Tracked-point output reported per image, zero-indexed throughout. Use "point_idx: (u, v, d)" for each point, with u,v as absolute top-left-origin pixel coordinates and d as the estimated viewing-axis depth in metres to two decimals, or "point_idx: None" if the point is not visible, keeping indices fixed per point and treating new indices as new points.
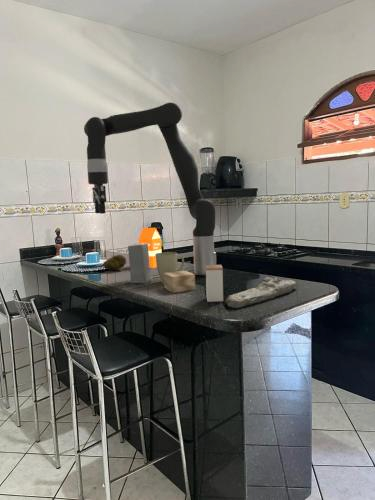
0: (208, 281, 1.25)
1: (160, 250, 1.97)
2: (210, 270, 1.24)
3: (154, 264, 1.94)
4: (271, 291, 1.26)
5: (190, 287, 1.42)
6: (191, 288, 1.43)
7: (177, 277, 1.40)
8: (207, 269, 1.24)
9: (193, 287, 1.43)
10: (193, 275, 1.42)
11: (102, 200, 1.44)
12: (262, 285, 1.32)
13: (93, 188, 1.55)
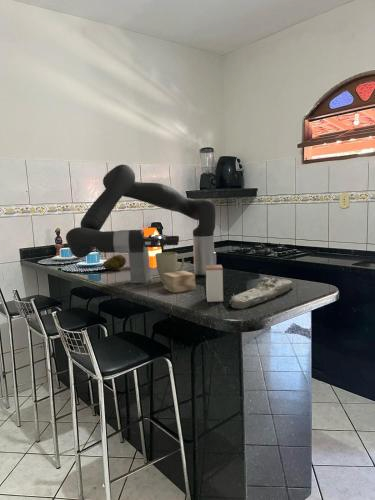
0: (208, 281, 1.25)
1: (160, 250, 1.97)
2: (210, 270, 1.24)
3: (154, 264, 1.94)
4: (272, 291, 1.26)
5: (190, 287, 1.42)
6: (191, 288, 1.43)
7: (178, 277, 1.40)
8: (207, 269, 1.24)
9: (193, 287, 1.43)
10: (193, 275, 1.43)
11: (161, 243, 1.19)
12: (261, 285, 1.32)
13: None
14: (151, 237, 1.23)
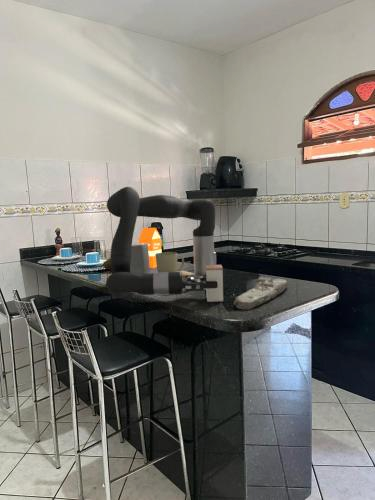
0: None
1: (160, 250, 1.97)
2: (210, 270, 1.24)
3: (154, 264, 1.94)
4: (272, 291, 1.27)
5: None
6: None
7: None
8: (207, 269, 1.24)
9: None
10: None
11: (202, 287, 1.20)
12: (260, 285, 1.32)
13: None
14: (190, 280, 1.25)
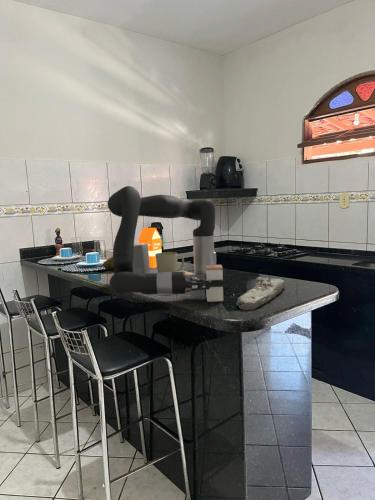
0: None
1: (160, 250, 1.97)
2: (210, 270, 1.24)
3: (154, 264, 1.94)
4: (272, 290, 1.27)
5: None
6: None
7: None
8: (207, 269, 1.24)
9: None
10: None
11: (208, 286, 1.22)
12: (259, 285, 1.32)
13: None
14: (194, 279, 1.25)
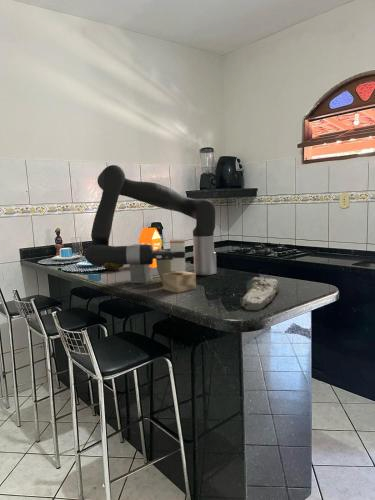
0: None
1: None
2: (173, 243, 1.41)
3: (154, 264, 1.94)
4: (272, 290, 1.28)
5: (191, 286, 1.43)
6: (192, 287, 1.44)
7: (180, 277, 1.40)
8: (171, 242, 1.40)
9: (194, 286, 1.44)
10: (194, 274, 1.44)
11: (171, 256, 1.38)
12: (257, 285, 1.32)
13: None
14: (160, 251, 1.41)
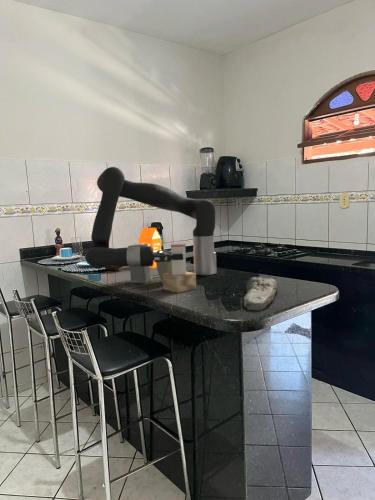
0: None
1: None
2: (174, 247, 1.41)
3: (154, 264, 1.94)
4: (272, 290, 1.28)
5: (192, 286, 1.43)
6: (193, 287, 1.44)
7: (181, 277, 1.40)
8: (172, 246, 1.41)
9: (194, 286, 1.44)
10: (194, 274, 1.44)
11: (169, 258, 1.37)
12: (257, 285, 1.32)
13: None
14: (159, 253, 1.41)
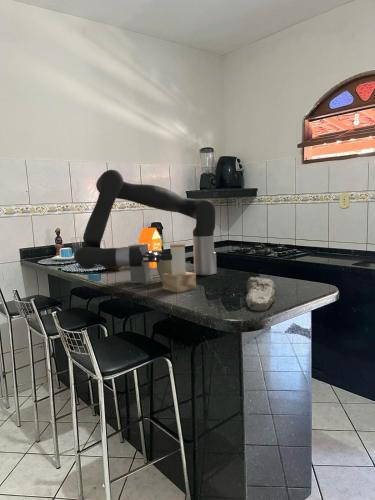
0: (172, 257, 1.41)
1: None
2: (174, 247, 1.41)
3: (154, 264, 1.94)
4: (272, 290, 1.28)
5: (191, 286, 1.44)
6: (193, 287, 1.44)
7: (181, 277, 1.40)
8: (171, 246, 1.41)
9: (194, 286, 1.44)
10: (194, 274, 1.44)
11: (157, 259, 1.37)
12: (256, 285, 1.32)
13: None
14: (148, 253, 1.41)
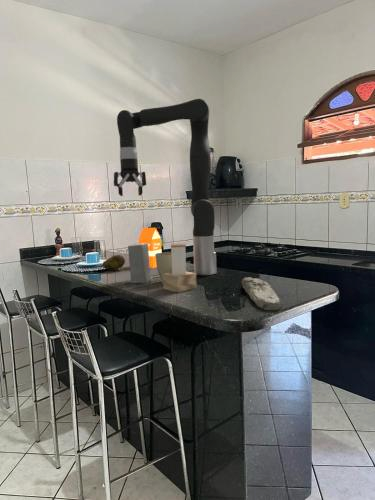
0: (173, 257, 1.41)
1: (160, 250, 1.97)
2: (174, 247, 1.41)
3: (154, 264, 1.94)
4: (271, 289, 1.29)
5: (192, 286, 1.44)
6: (193, 287, 1.44)
7: (182, 277, 1.40)
8: (172, 246, 1.41)
9: (195, 286, 1.45)
10: (195, 274, 1.44)
11: (114, 184, 1.68)
12: (254, 285, 1.32)
13: None
14: (125, 175, 1.68)
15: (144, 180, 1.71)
